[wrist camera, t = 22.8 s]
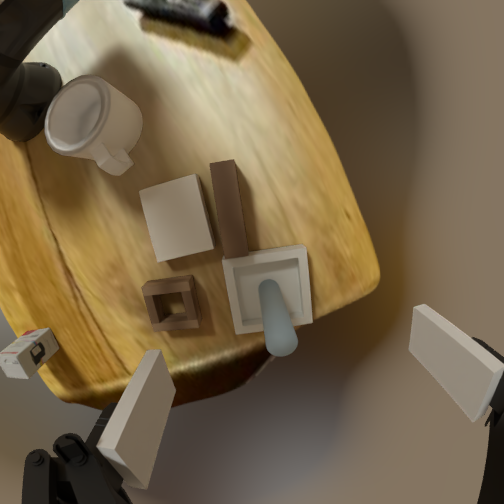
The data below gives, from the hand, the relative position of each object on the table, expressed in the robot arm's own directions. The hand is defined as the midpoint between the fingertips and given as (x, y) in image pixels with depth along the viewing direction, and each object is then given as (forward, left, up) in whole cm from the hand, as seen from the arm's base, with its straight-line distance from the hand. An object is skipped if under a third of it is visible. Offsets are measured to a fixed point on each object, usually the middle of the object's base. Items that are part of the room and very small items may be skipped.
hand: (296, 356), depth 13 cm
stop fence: (-4, +6, -27) cm, 28 cm away
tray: (0, -6, -27) cm, 27 cm away
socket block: (-14, -6, -27) cm, 31 cm away
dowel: (0, -6, -26) cm, 27 cm away
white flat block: (-11, +6, -27) cm, 30 cm away
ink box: (-46, -12, -27) cm, 55 cm away
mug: (-19, +20, -27) cm, 39 cm away
